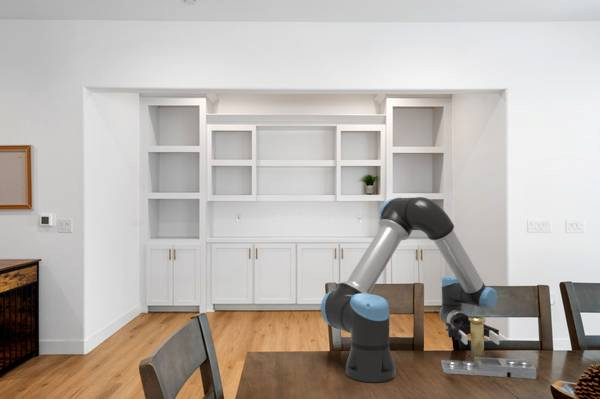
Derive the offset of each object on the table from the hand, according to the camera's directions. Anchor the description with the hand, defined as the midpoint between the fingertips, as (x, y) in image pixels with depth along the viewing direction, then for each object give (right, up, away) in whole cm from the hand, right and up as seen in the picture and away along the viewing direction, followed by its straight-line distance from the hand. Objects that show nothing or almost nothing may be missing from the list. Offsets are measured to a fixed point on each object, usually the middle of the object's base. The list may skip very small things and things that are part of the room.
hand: (482, 340), depth 146 cm
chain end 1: (-5, -8, -5) cm, 11 cm away
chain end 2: (+4, -8, -7) cm, 11 cm away
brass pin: (0, -8, +4) cm, 9 cm away
